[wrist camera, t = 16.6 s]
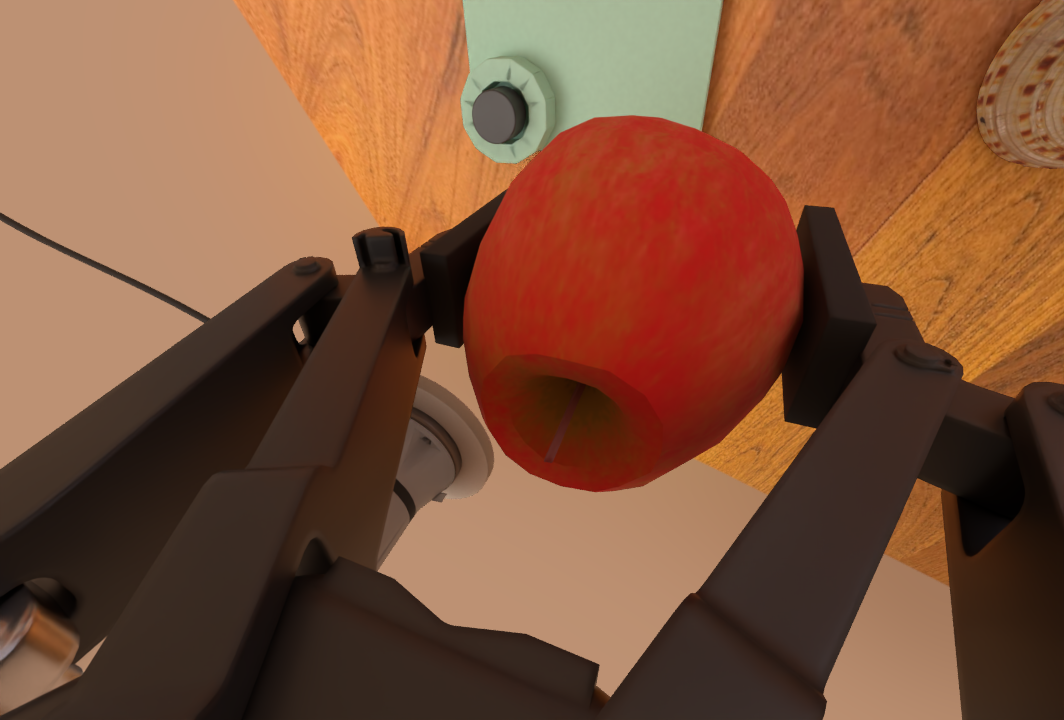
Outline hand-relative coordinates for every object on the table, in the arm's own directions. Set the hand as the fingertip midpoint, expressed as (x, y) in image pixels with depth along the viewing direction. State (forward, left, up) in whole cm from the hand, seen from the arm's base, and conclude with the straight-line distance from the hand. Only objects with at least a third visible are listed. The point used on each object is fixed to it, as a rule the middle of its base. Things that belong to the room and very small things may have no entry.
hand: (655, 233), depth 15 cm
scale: (-7, +5, -17) cm, 20 cm away
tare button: (-12, +1, -15) cm, 19 cm away
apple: (0, 0, 0) cm, 0 cm away
